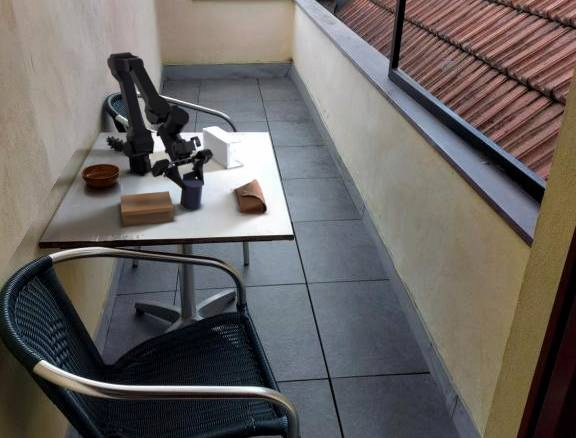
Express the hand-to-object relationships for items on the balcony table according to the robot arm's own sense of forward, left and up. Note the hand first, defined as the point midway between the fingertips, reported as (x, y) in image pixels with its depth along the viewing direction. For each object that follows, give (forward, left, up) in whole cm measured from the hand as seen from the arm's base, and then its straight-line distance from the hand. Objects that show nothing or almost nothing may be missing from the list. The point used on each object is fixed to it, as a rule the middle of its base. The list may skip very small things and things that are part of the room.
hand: (194, 187), depth 161 cm
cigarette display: (-12, +39, -7) cm, 42 cm away
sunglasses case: (+13, +11, -7) cm, 18 cm away
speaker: (-1, +1, -7) cm, 7 cm away
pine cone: (-47, +30, -4) cm, 56 cm away
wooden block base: (-11, -8, -7) cm, 16 cm away
